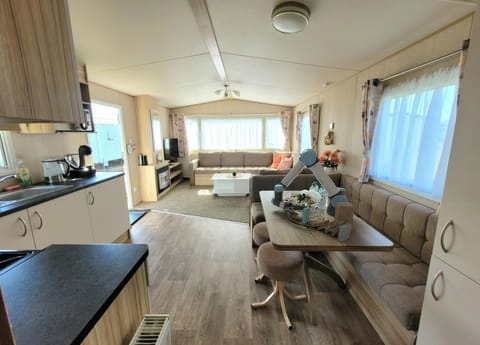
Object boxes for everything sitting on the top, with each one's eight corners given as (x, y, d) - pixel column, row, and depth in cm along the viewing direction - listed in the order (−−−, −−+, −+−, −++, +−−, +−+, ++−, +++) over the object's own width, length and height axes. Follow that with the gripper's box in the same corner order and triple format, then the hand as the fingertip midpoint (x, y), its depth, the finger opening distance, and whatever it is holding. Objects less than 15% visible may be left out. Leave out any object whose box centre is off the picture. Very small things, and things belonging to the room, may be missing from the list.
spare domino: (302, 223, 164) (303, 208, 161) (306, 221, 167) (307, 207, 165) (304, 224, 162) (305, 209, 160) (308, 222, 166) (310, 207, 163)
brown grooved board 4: (323, 231, 149) (335, 222, 141) (328, 228, 152) (339, 220, 145) (325, 233, 148) (337, 224, 140) (330, 231, 151) (341, 222, 144)
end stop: (344, 236, 144) (346, 222, 142) (349, 237, 142) (350, 224, 140) (337, 239, 139) (339, 225, 137) (342, 241, 137) (343, 227, 135)
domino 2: (310, 224, 157) (323, 221, 148) (315, 222, 161) (328, 219, 152) (311, 227, 157) (324, 224, 148) (316, 225, 160) (329, 222, 151)
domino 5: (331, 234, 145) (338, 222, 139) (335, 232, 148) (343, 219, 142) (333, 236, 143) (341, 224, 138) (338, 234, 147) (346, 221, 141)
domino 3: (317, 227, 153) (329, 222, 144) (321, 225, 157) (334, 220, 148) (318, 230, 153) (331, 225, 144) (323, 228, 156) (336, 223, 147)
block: (351, 233, 148) (355, 207, 144) (336, 232, 150) (339, 205, 146) (347, 227, 157) (350, 202, 153) (333, 226, 159) (336, 201, 155)
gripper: (295, 206, 187) (316, 214, 170) (276, 212, 172) (296, 222, 156) (296, 198, 185) (317, 205, 169) (276, 204, 171) (297, 212, 154)
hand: (307, 213), depth 162 cm, fingers open, 13 cm apart
